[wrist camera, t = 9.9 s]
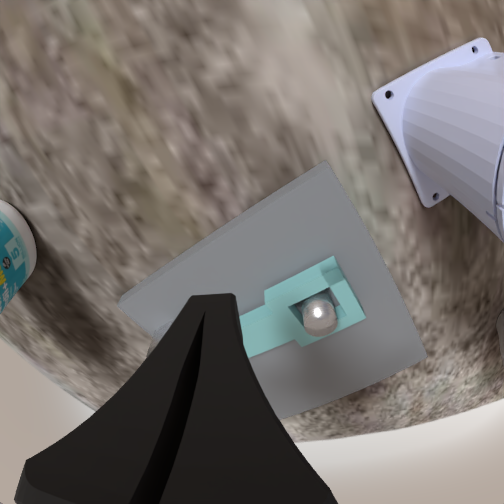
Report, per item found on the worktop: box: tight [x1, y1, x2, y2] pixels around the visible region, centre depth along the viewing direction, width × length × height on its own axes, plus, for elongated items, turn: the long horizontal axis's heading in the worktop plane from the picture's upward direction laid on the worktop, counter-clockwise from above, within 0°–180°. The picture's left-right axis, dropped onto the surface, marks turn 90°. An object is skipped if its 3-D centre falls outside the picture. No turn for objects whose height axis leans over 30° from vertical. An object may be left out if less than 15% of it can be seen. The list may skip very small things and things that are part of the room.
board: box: [117, 160, 428, 420], centre depth 23 cm, size 17×20×1 cm
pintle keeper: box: [146, 288, 338, 357], centre depth 21 cm, size 12×5×4 cm, turn 126°
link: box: [239, 256, 366, 358], centre depth 21 cm, size 14×5×1 cm, turn 123°
